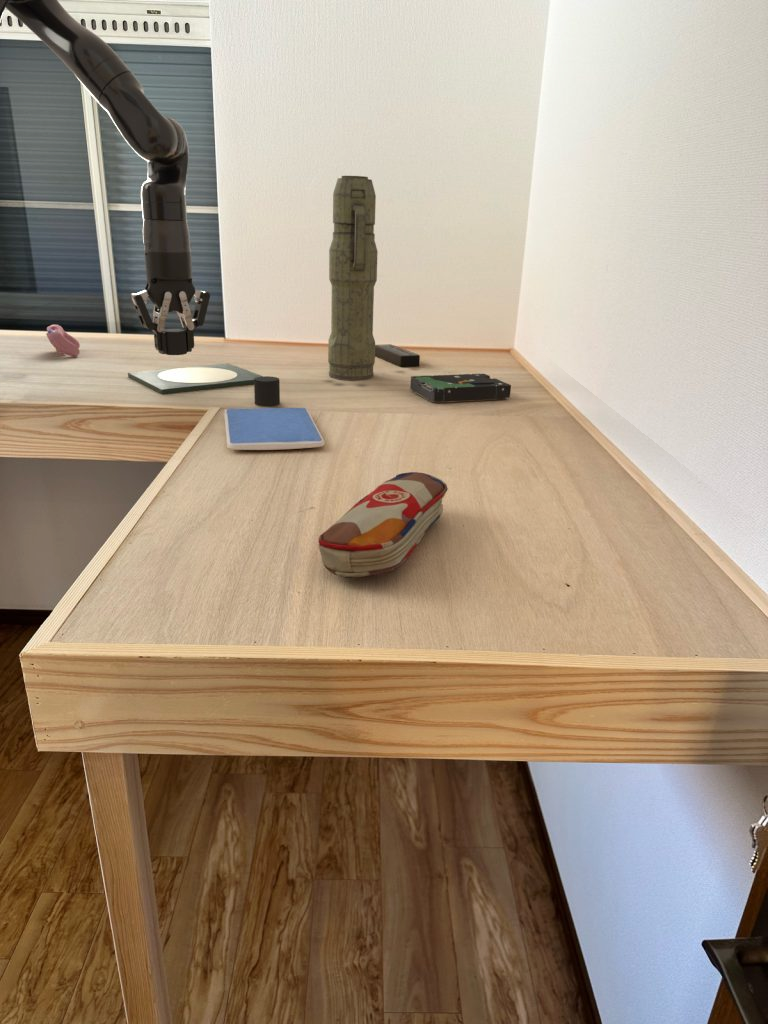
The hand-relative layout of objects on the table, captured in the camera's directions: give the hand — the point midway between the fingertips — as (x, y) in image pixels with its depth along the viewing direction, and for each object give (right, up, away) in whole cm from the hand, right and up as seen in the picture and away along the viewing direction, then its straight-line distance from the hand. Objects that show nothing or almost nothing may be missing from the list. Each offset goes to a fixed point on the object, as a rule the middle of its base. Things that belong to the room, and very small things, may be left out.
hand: (175, 351), depth 128 cm
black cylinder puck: (+18, -11, -11) cm, 24 cm away
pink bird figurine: (-30, +5, +24) cm, 38 cm away
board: (+3, -4, +4) cm, 7 cm away
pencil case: (+37, -31, -60) cm, 77 cm away
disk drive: (+50, -8, 0) cm, 51 cm away
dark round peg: (0, 0, 0) cm, 0 cm away
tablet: (+21, -17, -26) cm, 38 cm away
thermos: (+30, -2, +12) cm, 33 cm away
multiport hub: (+39, +4, +29) cm, 49 cm away
